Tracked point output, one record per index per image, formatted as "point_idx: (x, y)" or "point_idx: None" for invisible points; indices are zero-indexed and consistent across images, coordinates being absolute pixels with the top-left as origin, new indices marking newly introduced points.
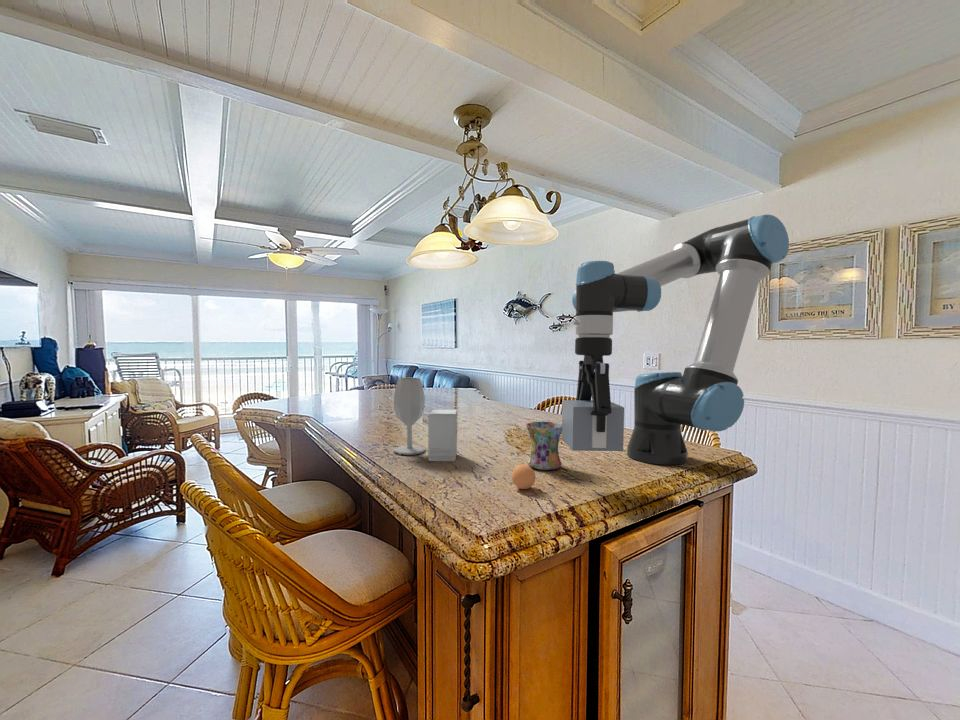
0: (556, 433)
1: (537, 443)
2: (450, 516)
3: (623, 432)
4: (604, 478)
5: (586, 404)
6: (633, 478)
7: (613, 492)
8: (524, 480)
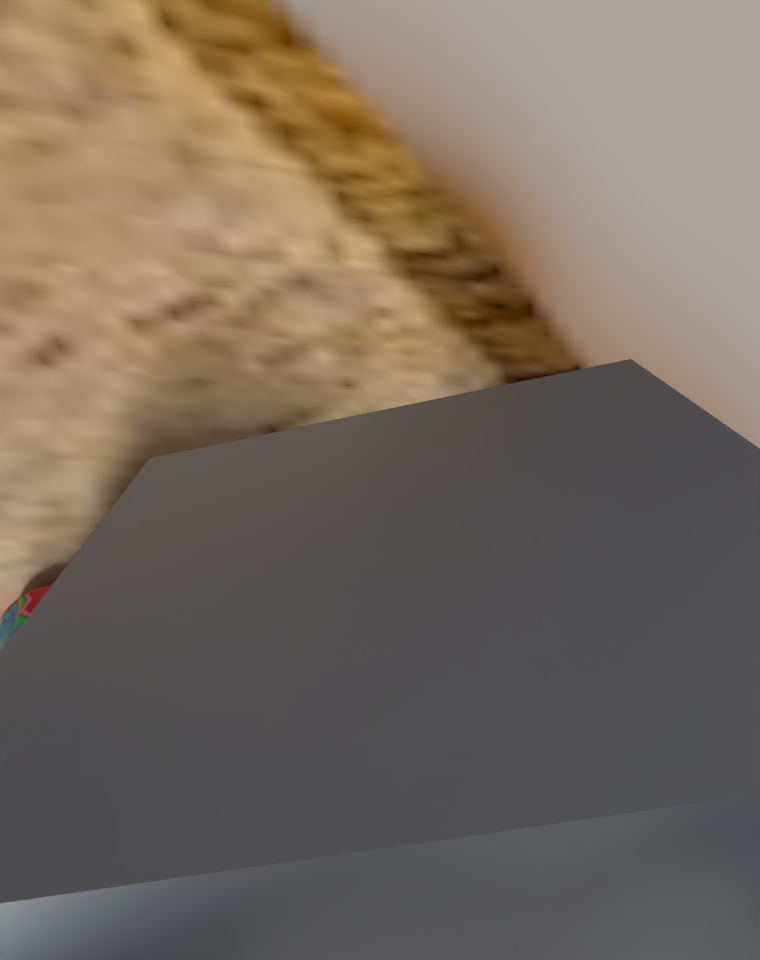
0: None
1: None
2: None
3: (739, 435)
4: (191, 350)
5: None
6: (114, 139)
7: (439, 321)
8: None
